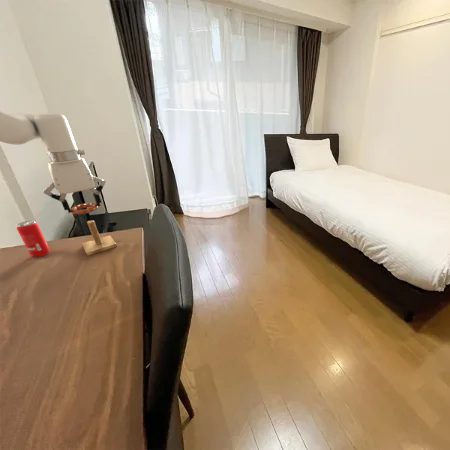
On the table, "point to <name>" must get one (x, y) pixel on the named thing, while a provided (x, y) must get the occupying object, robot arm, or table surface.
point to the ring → (76, 209)
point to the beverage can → (33, 238)
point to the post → (97, 241)
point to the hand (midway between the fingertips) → (84, 207)
